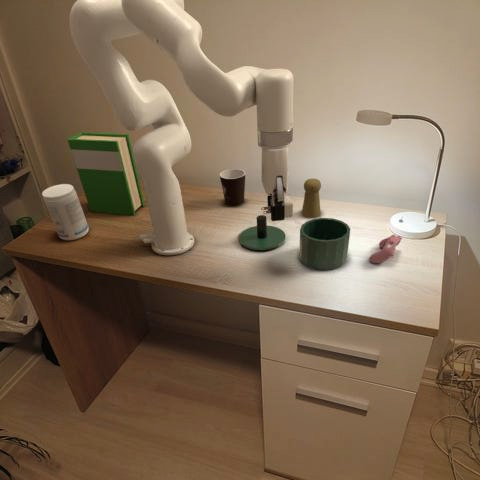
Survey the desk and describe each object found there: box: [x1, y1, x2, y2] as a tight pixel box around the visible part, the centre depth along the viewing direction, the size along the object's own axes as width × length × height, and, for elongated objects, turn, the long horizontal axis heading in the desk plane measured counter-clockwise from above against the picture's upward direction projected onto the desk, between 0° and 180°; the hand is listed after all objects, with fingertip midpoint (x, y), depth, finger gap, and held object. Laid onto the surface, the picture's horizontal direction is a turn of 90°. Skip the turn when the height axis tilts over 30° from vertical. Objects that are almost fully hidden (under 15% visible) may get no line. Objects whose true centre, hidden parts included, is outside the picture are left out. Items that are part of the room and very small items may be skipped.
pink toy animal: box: [368, 233, 403, 264], centre depth 109 cm, size 10×5×7 cm, turn 148°
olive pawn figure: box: [301, 178, 322, 219], centre depth 129 cm, size 6×6×11 cm
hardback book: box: [67, 131, 146, 216], centre depth 137 cm, size 18×7×24 cm, turn 71°
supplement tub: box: [41, 183, 90, 241], centre depth 128 cm, size 10×10×15 cm
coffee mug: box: [219, 168, 246, 207], centre depth 141 cm, size 12×9×10 cm
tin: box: [298, 217, 351, 271], centre depth 110 cm, size 13×13×8 cm
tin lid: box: [238, 214, 286, 251], centre depth 120 cm, size 14×14×7 cm
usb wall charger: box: [260, 195, 294, 219], centre depth 99 cm, size 4×7×4 cm, turn 101°
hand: (276, 214), depth 100 cm, fingers closed on usb wall charger, 4 cm apart
